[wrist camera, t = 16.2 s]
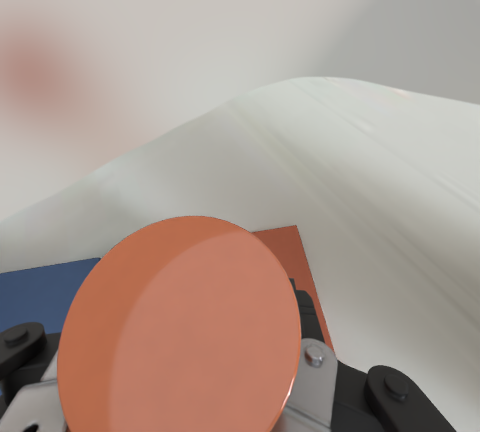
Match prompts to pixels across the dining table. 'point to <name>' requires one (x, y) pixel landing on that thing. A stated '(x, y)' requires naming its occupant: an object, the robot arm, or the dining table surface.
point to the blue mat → (41, 294)
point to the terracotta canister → (181, 334)
